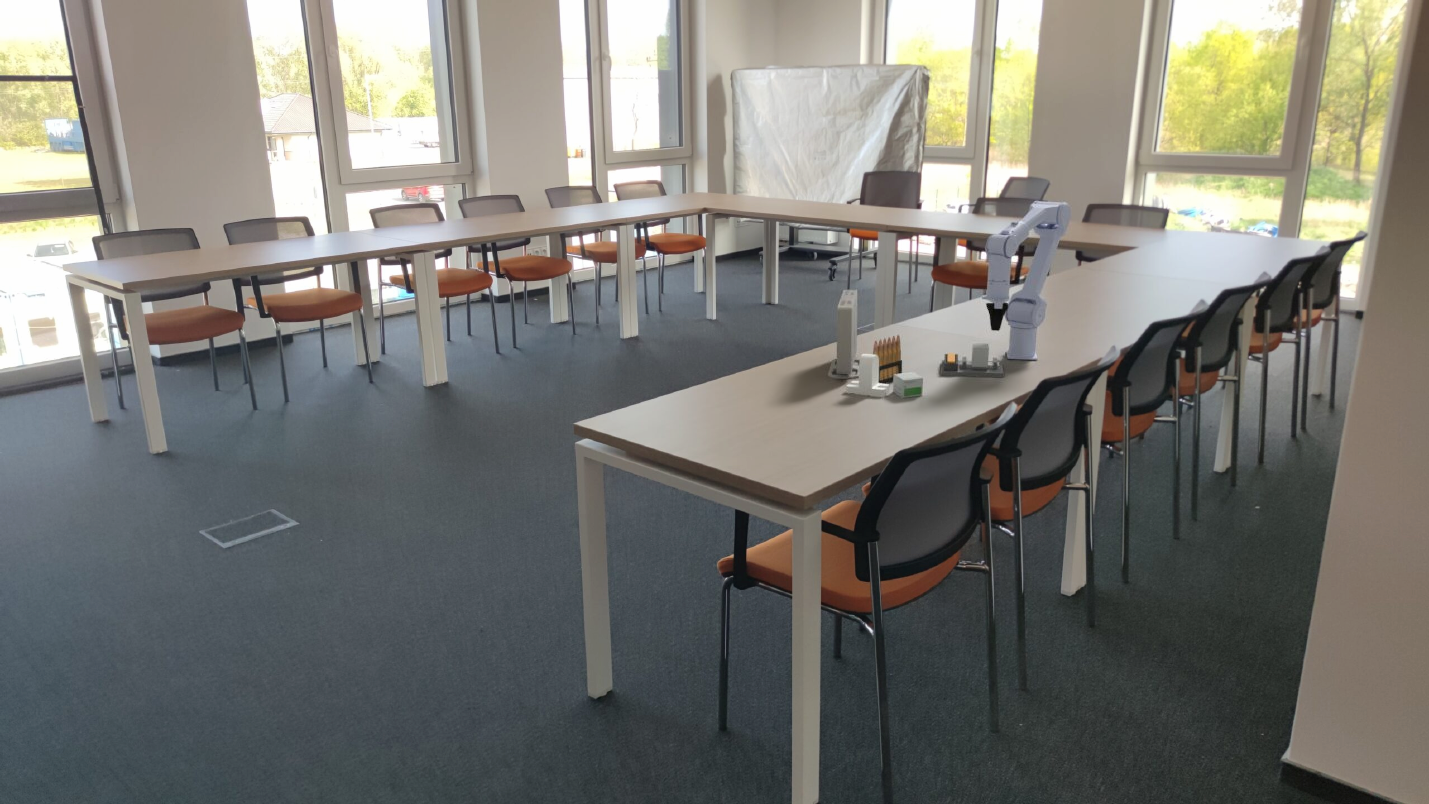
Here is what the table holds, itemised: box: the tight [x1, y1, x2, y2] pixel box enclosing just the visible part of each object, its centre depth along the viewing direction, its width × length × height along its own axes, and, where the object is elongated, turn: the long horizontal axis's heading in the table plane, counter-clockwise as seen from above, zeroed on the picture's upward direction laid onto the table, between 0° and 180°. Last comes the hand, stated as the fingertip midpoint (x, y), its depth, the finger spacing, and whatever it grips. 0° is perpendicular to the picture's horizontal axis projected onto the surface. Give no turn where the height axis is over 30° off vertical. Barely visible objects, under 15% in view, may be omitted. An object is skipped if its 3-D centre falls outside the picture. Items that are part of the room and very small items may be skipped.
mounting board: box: [940, 359, 1005, 378], centre depth 260 cm, size 12×16×1 cm
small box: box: [892, 371, 924, 399], centre depth 241 cm, size 6×6×5 cm
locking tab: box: [947, 352, 956, 363], centre depth 261 cm, size 8×2×2 cm, turn 167°
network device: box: [827, 289, 860, 380], centre depth 262 cm, size 26×9×20 cm, turn 168°
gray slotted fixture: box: [943, 353, 1000, 371], centre depth 260 cm, size 10×14×2 cm
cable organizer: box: [846, 353, 890, 398], centre depth 242 cm, size 5×10×10 cm, turn 62°
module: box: [971, 340, 990, 370], centre depth 258 cm, size 7×4×6 cm, turn 166°
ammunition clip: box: [872, 334, 903, 384], centre depth 250 cm, size 11×2×12 cm, turn 130°
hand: (995, 330), depth 259 cm, fingers closed
